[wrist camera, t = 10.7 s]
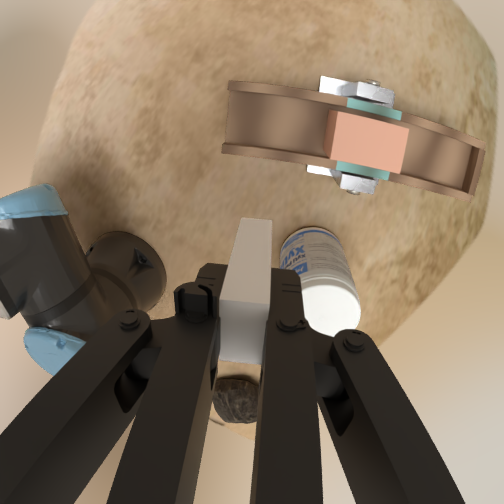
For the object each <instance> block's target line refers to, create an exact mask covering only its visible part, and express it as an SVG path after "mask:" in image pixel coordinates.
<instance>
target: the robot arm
mask: <svg viewBox="0 0 504 504" xmlns="http://www.w3.org/2000/svg"><path fill="white" fill-rule="evenodd" d="M271 253H272V220H267V219H256V218H244V217H241V220H240V224H239V227H238V231H237V235H236V238H235V242H234V246H233V249H232V253H231V257H230V260H229V264H228V265H224V264H214V263H207V264H206V265H204V266H203V267H202V268H200V270H199V272H198V275H197V278H196V280H195V282H189V283H185V284H182V285H180V286H178V287H177V288H176V289H175V290H174V302H175V312H176V313H175V316H173V317H170V318H166V319H157V320H150V317H149V316H148V314H147V313H146V312H147V311H149V310H150V309H152V308H153V307H154V306H155V305H156V304H157V303H158V301H159V300H160V298H161V296H162V294H163V292H164V290H165V287H166V273H165V269H164V266H163V264H162V262H161V260H160V258H159V256H158V255H157V254H156V252H155V251H154V250H153V249H152V248H151V247H150V246H149V245H148V244H147V243H146V242H144V241H143V240H141V239H140V238H138V237H136V236H134V235H132V234H129V233H125V232H110V233H106V234H104V235H102V236H101V237H99V238H98V239H97V240H96V241H95V242H94V243H93V244H92V245H91V246H90V248H89V249H88V251H87V253H86V256H85V254H84V252H83V250H82V247H81V245H80V243H79V241H78V239H77V236H76V234H75V232H74V229H73V227H72V224H71V222H70V219H69V217H68V211H66V210H65V208H64V206H63V203H62V201H61V199H60V197H59V195H58V192H57V190H56V189H55V188H54V187H53V186H52V185H50V184H39V185H35V186H32V187H29V188H26V189H23V190H21V191H18V192H15V193H13V194H10V195H8V196H5V197H3V198H0V318H4V319H8V320H9V319H11V318H12V317H13V316H15V315H16V314H17V313H18V312H20V313H21V314H22V316H23V317H24V319H25V321H26V322H27V324H28V325H29V329H27V330H26V331H25V336H24V344H25V348H26V350H27V352H28V353H29V355H30V356H31V357H32V358H33V360H34V361H35V362H36V363H37V364H38V365H39V366H41V367H42V368H43V369H44V370H46V371H47V372H48V373H50V374H51V375H53V377H52V378H51V379H50V381H49V382H48V383H47V384H46V385H45V386H44V387H43V388H42V389H41V390H40V391H39V392H38V393H37V394H36V395H35V397H34V398H33V399H32V400H31V401H30V402H29V403H28V404H27V405H26V406H25V408H24V409H23V410H22V411H21V412H20V413H19V414H18V415H17V417H16V418H15V419H14V420H13V421H12V422H11V423H10V424H9V425H8V427H7V428H6V429H5V430H4V431H3V432H2V434H1V435H0V504H74V503H75V501H76V500H77V498H78V497H79V495H80V494H81V493H82V491H83V490H84V488H85V487H86V485H87V484H88V483H89V481H90V480H91V478H92V477H93V475H94V474H95V473H96V471H97V470H98V468H99V467H100V465H101V464H102V463H103V461H104V460H105V458H106V457H107V455H108V454H109V452H110V451H111V450H112V448H113V447H114V445H115V444H116V442H117V441H118V440H119V438H120V437H121V436H122V434H123V433H124V431H125V429H126V428H127V427H128V425H129V424H130V423H131V421H132V420H133V418H134V417H135V416H136V417H135V419H134V422H133V425H132V428H131V431H130V434H129V437H128V439H127V442H126V445H125V448H124V451H123V454H122V457H121V460H120V463H119V466H118V469H117V472H116V475H115V478H114V481H113V485H112V487H111V491H110V494H109V497H108V500H107V503H106V504H193V501H194V496H195V490H196V485H197V479H198V474H199V468H200V463H201V458H202V452H203V447H204V441H205V436H206V431H207V425H208V420H209V415H210V410H211V404H212V399H213V394H214V389H215V383H216V378H217V373H218V358H219V360H221V361H229V362H239V363H249V364H260V365H261V373H260V380H259V388H258V389H259V398H258V411H257V424H256V436H255V449H254V461H253V472H252V484H251V495H250V504H323V487H322V467H321V447H320V432H319V418H318V405H317V402H318V404H319V407H320V410H321V412H322V415H323V417H324V420H325V423H326V425H327V428H328V431H329V433H330V436H331V439H332V441H333V444H334V446H335V449H336V451H337V454H338V457H339V460H340V462H341V464H342V468H343V470H344V473H345V476H346V478H347V481H348V483H349V486H350V489H351V491H352V494H353V497H354V499H355V502H356V504H465V502H464V500H463V498H462V496H461V494H460V492H459V490H458V488H457V486H456V484H455V482H454V480H453V478H452V476H451V474H450V473H449V470H448V468H447V467H446V465H445V463H444V461H443V459H442V457H441V455H440V453H439V452H438V450H437V448H436V446H435V444H434V443H433V441H432V439H431V437H430V435H429V433H428V432H427V430H426V428H425V426H424V425H423V423H422V421H421V419H420V418H419V416H418V414H417V413H416V411H415V409H414V407H413V406H412V404H411V402H410V400H409V399H408V397H407V396H406V394H405V392H404V390H403V389H402V387H401V385H400V384H399V382H398V380H397V379H396V377H395V375H394V374H393V372H392V370H391V369H390V367H389V366H388V364H387V362H386V361H385V359H384V358H383V356H382V354H381V353H380V351H379V349H378V348H377V346H376V345H375V343H374V342H373V340H372V339H371V338H370V337H369V336H368V335H367V334H365V333H364V332H362V331H359V330H355V329H344V330H341V331H339V332H338V333H336V334H335V336H334V337H332V336H329V335H325V334H322V333H320V332H317V331H316V330H314V329H312V328H311V327H310V325H309V323H308V320H307V319H306V318H305V315H304V305H303V296H302V287H301V279H300V276H299V275H298V274H297V273H296V271H295V270H289V269H278V268H271Z"/></svg>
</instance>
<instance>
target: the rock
mask: <svg viewBox="0 0 504 504" xmlns="http://www.w3.org/2000/svg"><path fill="white" fill-rule="evenodd" d="M258 388H259V387H258V386H256V385H253V384H252V383H250V382H248V381H246V380H243V381H242V380H236V379H223V380H218V381H216V383H215V389H214V394H213V399H212V401H213V404H214V408H215V410H216V412H217V413H218V415H219V416H220V417H221V418H222V419H223V420H224V421H225V422H228V423H245V424H248V423H253V422H256V421H257V411H258V398H259V389H258Z"/></svg>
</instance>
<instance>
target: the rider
mask: <svg viewBox="0 0 504 504" xmlns="http://www.w3.org/2000/svg"><path fill="white" fill-rule="evenodd" d="M408 133H409V129H408V128H404V127H401V126H397V125H394V124H390V123H386V122H383V121H379V120H375V119H371V118H366V117H362V116H358V115H353V114H349V113H344V112H339V111H334V110H329V114H328V121H327V127H326V133H325V140H324V146H323V150H324V152H325V153H326V154H327V156H328V157H329V158H330V159H332V160H337V161H342V162H348V163H353V164H357V165H362V166H367V167H372V168H376V169H381V170H385V171H389V172H394V173H398V174H400V171H401V167H402V162H403V158H404V153H405V148H406V143H407V138H408Z"/></svg>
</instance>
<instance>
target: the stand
mask: <svg viewBox="0 0 504 504" xmlns="http://www.w3.org/2000/svg"><path fill="white" fill-rule="evenodd" d="M319 92H323V93H329V94H334V95H339V96H343V97H348V98H352V99H357V100H361V101H365V102H369V103H373V104H377V105H381V106H384V107H388V108H391V109H393V104H394V98H395V94H394V93H393V92H394V91H393V90H389V89H386V88H382V87H380V82H377V81H374V80H368V79H366V83H363V82H359V81H357V82H353V83H352V82H348V81H343V80H339V79H334V78H329V77H324V76H321V77H320V85H319ZM306 171H307V172H311V173H317V174H323V175H329V176H333V178H334V179H335V181H336V183H337V184H338V186H339V187H340V188H343V189H347V192H348V193H351V194H354V195H360V192H364V193H369V194H374V190H375V186H376V185H378V180H379V178H374V177H370V176H365V175H360V174H355V173H350V172H345V171H340V170H334V169H329V168H323V167H318V166H312V165H307V170H306Z"/></svg>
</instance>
